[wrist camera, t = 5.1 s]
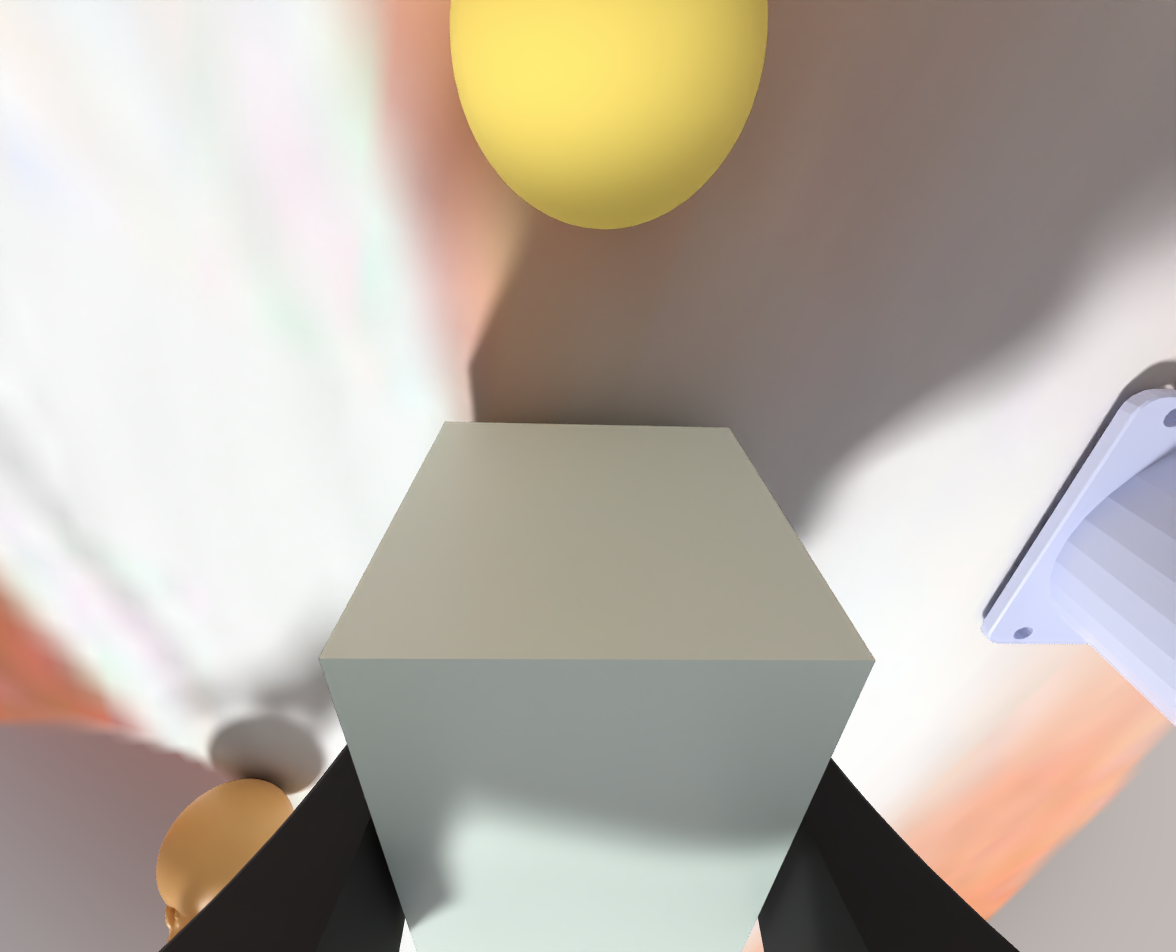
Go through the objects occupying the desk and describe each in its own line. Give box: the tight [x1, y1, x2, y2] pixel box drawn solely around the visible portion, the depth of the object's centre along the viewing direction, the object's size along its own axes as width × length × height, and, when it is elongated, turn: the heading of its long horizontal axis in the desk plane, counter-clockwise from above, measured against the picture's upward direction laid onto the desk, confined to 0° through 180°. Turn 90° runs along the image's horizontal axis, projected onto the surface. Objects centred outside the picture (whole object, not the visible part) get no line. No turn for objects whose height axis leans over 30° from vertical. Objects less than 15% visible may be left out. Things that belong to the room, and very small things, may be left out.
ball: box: [450, 0, 768, 229], centre depth 7 cm, size 4×4×4 cm
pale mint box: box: [319, 422, 875, 952], centre depth 11 cm, size 6×10×6 cm, turn 178°
